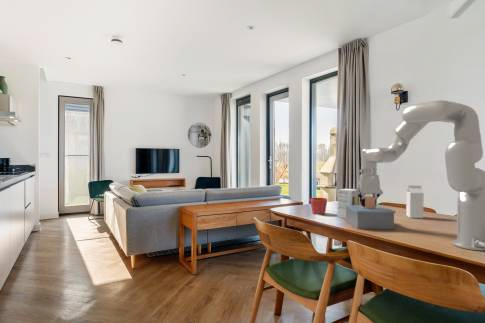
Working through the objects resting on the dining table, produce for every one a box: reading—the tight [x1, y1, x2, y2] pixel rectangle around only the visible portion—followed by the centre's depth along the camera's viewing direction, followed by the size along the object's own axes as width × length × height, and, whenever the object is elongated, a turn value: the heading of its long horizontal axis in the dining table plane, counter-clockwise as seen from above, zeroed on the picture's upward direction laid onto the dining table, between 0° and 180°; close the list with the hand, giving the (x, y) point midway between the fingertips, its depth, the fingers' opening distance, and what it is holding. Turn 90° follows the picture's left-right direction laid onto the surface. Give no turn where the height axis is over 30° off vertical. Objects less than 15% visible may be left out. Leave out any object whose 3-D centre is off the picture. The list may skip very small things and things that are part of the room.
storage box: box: [345, 208, 395, 230], centre depth 159 cm, size 18×18×8 cm
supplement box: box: [337, 188, 361, 220], centre depth 179 cm, size 10×9×17 cm
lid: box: [345, 195, 397, 214], centre depth 159 cm, size 19×19×8 cm
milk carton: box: [405, 185, 424, 219], centre depth 180 cm, size 7×7×19 cm
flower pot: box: [309, 197, 328, 216], centre depth 192 cm, size 11×11×10 cm
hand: (368, 206), depth 159 cm, fingers closed on lid, 5 cm apart
